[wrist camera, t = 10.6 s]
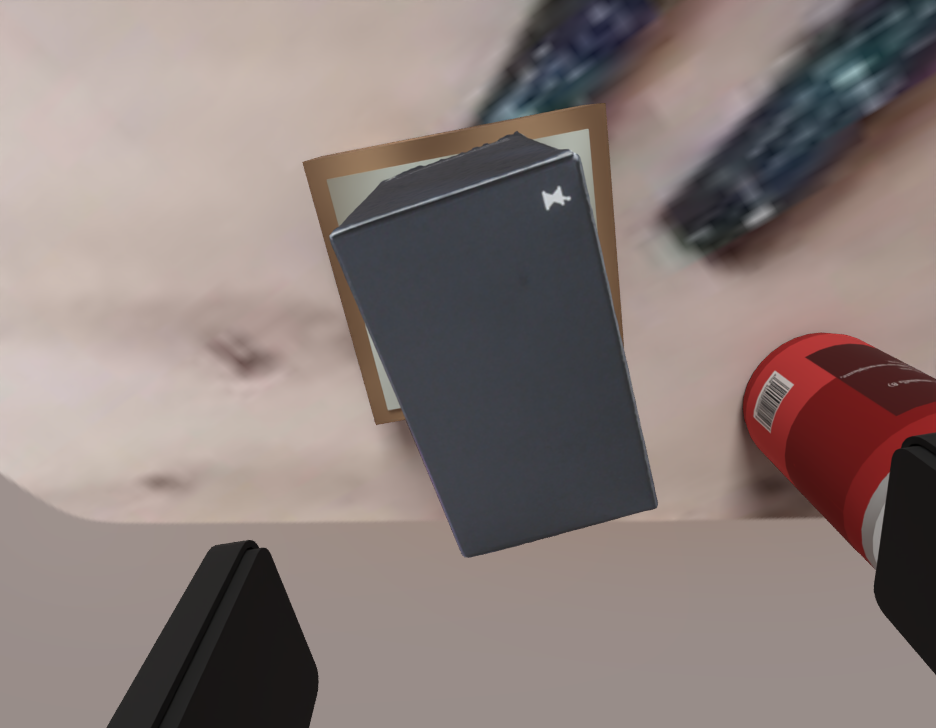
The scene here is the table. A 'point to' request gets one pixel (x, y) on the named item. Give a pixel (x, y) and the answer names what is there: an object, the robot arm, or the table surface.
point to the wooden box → (360, 171)
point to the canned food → (838, 425)
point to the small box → (501, 341)
